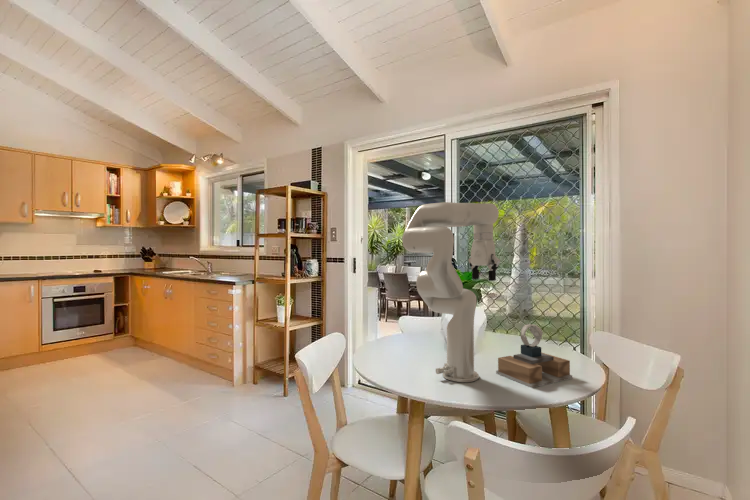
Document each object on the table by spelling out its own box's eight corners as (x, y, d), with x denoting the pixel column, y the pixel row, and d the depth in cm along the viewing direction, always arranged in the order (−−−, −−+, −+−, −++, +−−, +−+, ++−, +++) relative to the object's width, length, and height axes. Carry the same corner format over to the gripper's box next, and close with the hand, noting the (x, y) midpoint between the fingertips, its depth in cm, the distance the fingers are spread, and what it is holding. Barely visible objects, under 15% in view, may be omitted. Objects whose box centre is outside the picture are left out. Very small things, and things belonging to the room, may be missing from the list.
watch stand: (531, 387, 122) (531, 365, 122) (496, 373, 136) (496, 353, 136) (572, 378, 130) (572, 357, 131) (535, 365, 145) (535, 347, 145)
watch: (545, 355, 134) (545, 324, 134) (528, 357, 131) (527, 326, 131) (533, 351, 139) (533, 322, 139) (516, 353, 136) (516, 323, 136)
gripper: (462, 238, 157) (462, 278, 157) (491, 236, 141) (491, 281, 141) (476, 238, 160) (476, 278, 160) (506, 237, 145) (506, 281, 145)
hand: (483, 279), depth 151 cm, fingers open, 9 cm apart
